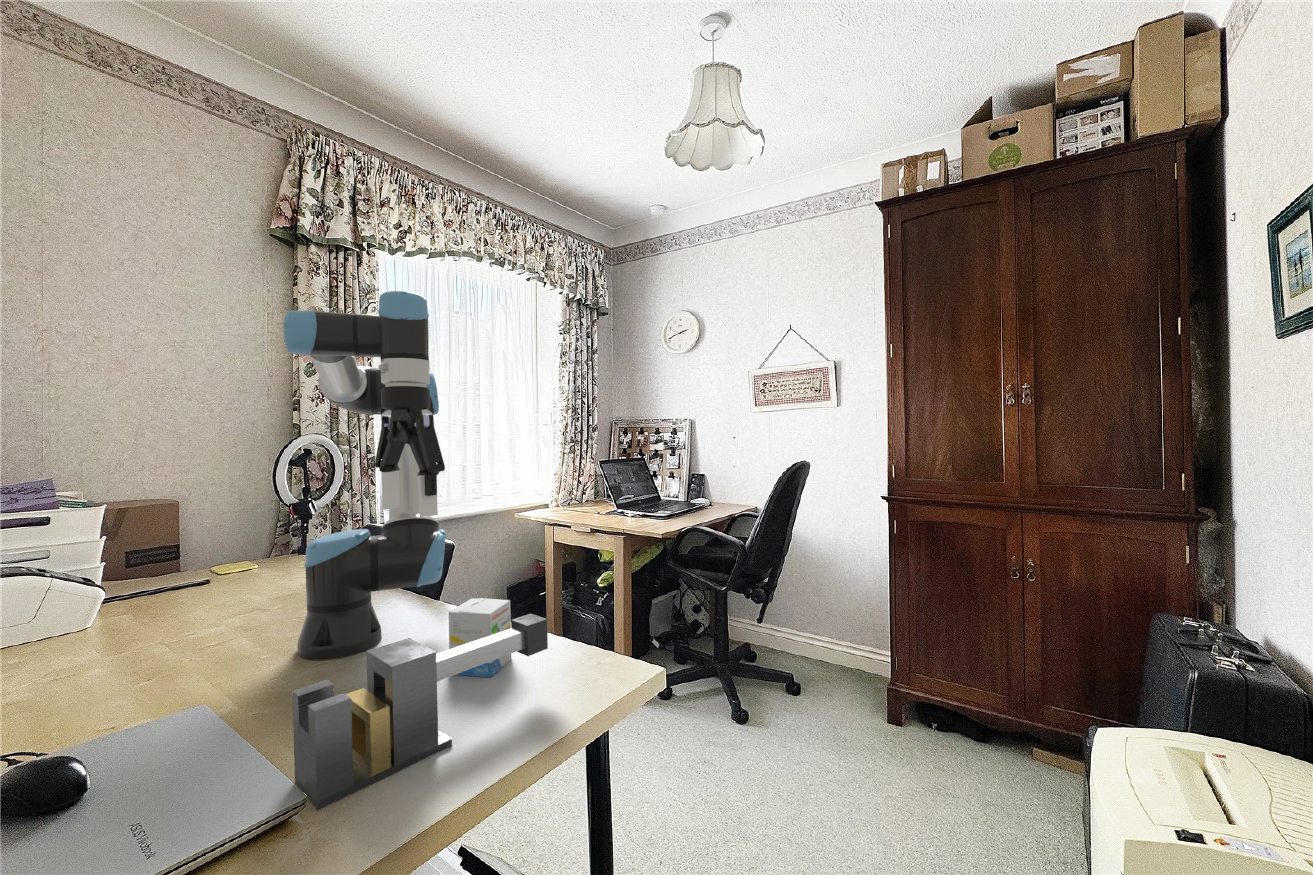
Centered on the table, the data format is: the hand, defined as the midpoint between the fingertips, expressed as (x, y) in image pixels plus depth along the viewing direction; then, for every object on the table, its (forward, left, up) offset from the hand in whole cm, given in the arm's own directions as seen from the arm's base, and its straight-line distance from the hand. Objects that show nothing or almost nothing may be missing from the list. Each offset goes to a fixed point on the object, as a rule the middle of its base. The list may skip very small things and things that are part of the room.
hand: (408, 512), depth 93 cm
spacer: (+16, -14, -30) cm, 36 cm away
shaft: (+16, +2, -23) cm, 28 cm away
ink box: (0, +13, -31) cm, 34 cm away
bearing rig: (+16, -13, -31) cm, 37 cm away
